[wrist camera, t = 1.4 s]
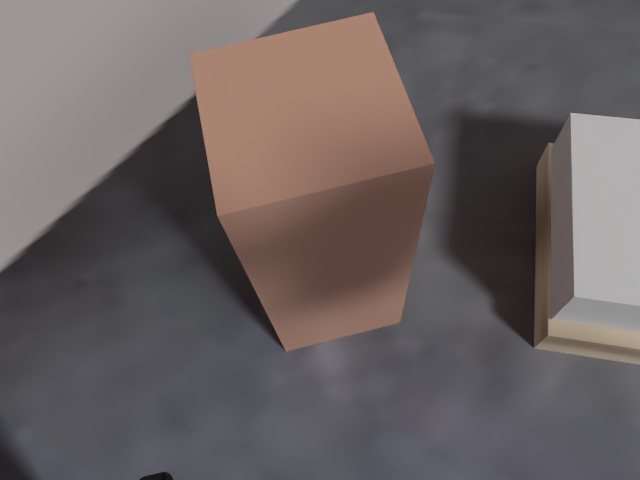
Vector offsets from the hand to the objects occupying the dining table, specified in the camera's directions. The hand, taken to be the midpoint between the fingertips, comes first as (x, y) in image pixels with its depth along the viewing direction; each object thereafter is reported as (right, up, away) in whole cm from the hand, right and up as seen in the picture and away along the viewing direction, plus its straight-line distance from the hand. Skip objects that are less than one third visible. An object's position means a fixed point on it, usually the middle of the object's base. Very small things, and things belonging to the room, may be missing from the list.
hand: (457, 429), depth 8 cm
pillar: (-2, +1, +15) cm, 16 cm away
